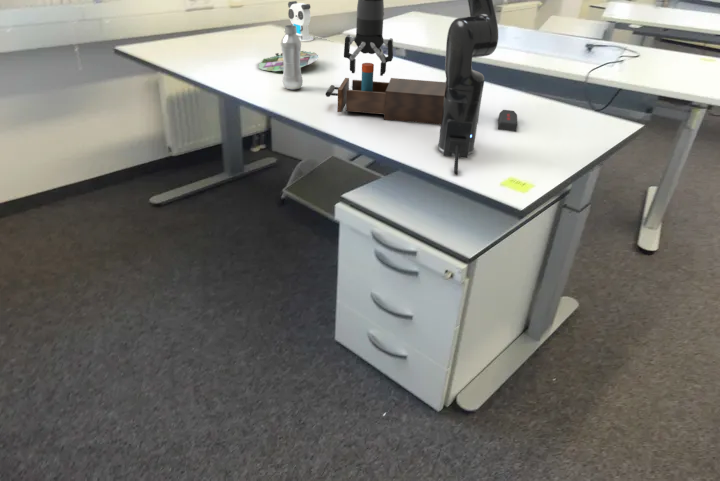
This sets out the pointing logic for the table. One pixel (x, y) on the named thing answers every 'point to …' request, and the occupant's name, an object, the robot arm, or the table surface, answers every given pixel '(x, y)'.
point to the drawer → (360, 97)
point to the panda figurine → (300, 19)
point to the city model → (277, 61)
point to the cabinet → (414, 101)
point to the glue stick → (367, 77)
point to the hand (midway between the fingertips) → (367, 73)
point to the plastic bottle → (291, 58)
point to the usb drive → (507, 120)
